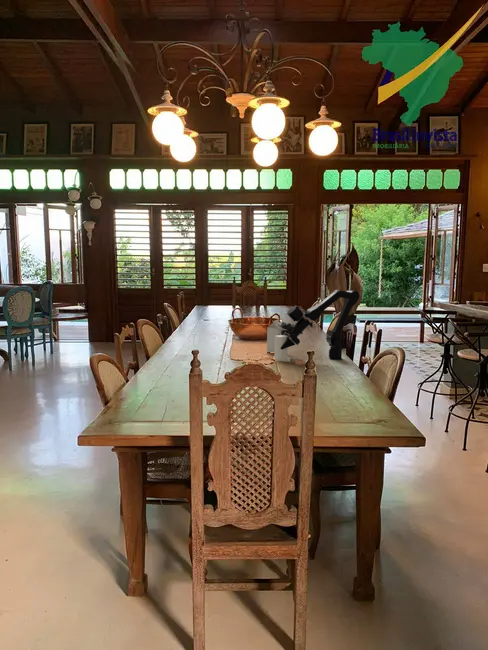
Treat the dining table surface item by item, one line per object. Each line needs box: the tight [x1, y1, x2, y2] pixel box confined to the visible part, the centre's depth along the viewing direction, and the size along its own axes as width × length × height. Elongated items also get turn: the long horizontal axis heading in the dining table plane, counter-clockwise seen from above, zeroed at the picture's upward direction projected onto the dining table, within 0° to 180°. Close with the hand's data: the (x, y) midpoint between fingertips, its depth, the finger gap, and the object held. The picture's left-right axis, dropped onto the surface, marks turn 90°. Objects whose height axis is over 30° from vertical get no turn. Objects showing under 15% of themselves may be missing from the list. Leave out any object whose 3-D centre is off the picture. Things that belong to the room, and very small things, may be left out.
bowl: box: [295, 358, 305, 366], centre depth 256 cm, size 4×4×3 cm
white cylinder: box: [273, 335, 289, 362], centre depth 265 cm, size 7×7×12 cm
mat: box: [274, 356, 291, 362], centre depth 266 cm, size 10×10×1 cm
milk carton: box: [266, 319, 283, 353], centre depth 280 cm, size 7×7×19 cm
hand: (278, 347), depth 264 cm, fingers closed on white cylinder, 7 cm apart
